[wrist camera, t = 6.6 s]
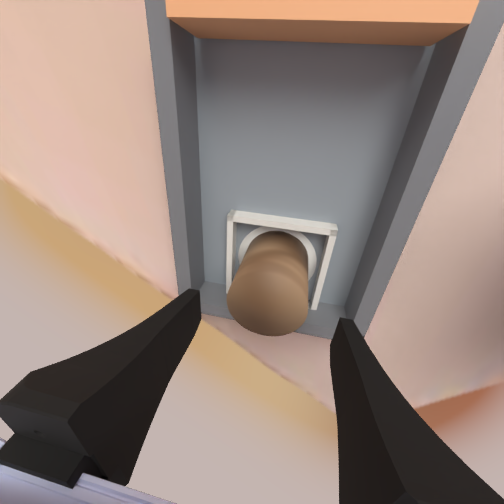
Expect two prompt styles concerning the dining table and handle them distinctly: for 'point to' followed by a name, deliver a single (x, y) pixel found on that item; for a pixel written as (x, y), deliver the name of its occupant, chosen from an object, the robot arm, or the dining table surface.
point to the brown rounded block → (271, 285)
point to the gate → (324, 20)
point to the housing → (306, 152)
